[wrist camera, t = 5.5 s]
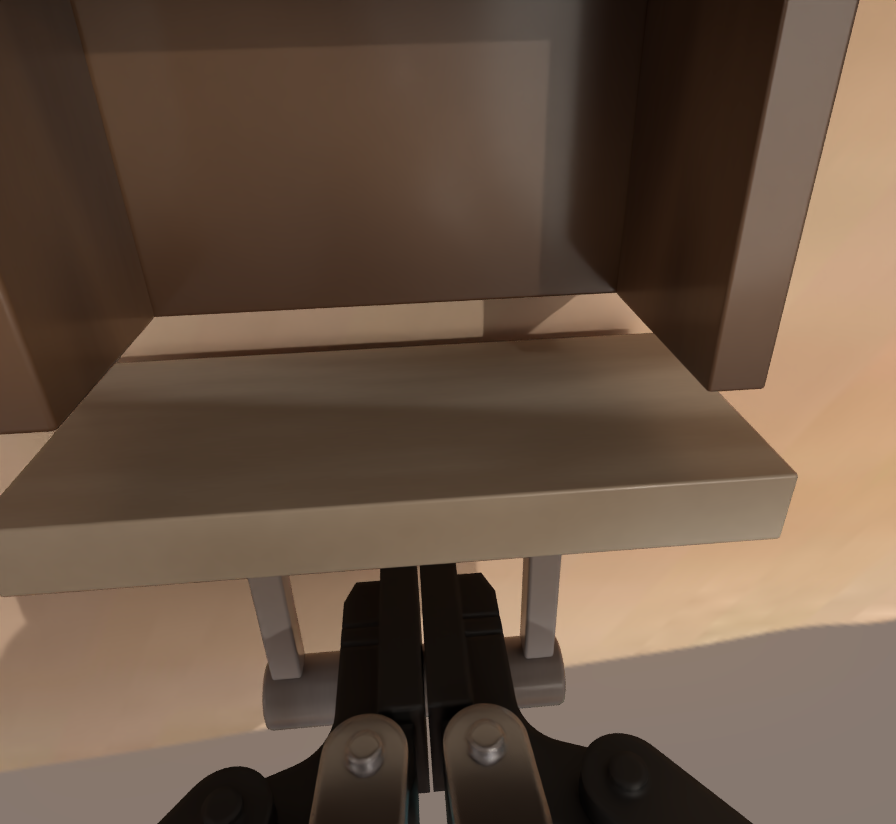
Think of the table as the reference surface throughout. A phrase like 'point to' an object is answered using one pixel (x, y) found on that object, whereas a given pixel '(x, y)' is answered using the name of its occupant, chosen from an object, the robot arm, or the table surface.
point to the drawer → (395, 288)
